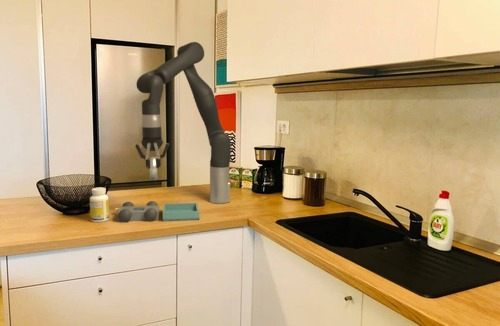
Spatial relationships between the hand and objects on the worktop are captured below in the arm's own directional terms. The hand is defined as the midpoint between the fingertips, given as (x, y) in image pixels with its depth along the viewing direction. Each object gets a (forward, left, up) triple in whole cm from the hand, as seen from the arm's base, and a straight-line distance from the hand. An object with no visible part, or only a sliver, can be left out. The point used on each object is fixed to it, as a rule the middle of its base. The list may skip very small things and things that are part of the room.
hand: (153, 168), depth 168 cm
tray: (-11, 0, -20) cm, 23 cm away
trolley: (+7, 0, -20) cm, 22 cm away
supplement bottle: (+21, +2, -21) cm, 30 cm away
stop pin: (0, 0, -5) cm, 5 cm away
